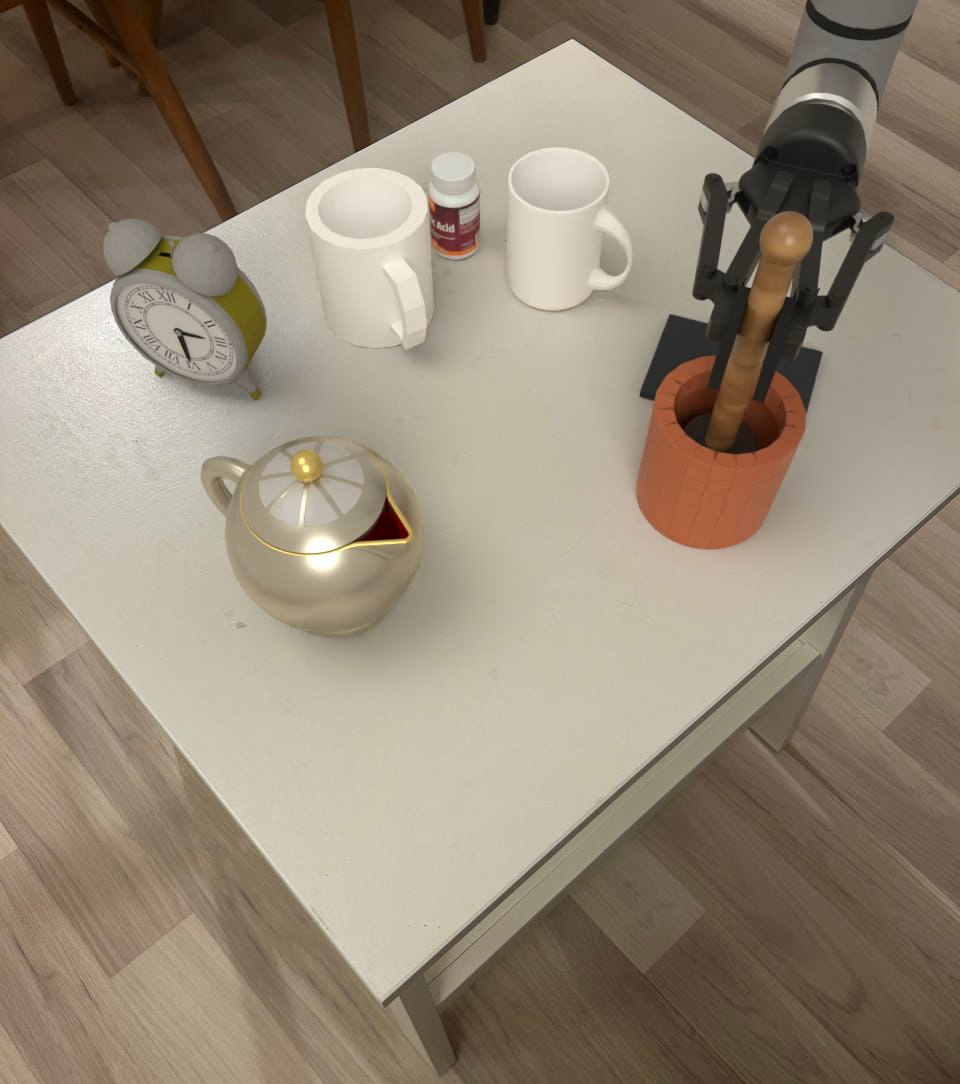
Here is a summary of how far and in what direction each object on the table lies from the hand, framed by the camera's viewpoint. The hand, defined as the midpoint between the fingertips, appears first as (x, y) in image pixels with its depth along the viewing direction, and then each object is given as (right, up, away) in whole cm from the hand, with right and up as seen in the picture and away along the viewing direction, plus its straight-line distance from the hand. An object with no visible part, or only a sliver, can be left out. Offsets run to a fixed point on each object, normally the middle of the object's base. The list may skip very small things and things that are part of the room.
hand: (740, 379), depth 57 cm
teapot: (-28, -12, +15) cm, 34 cm away
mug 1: (-25, +14, +29) cm, 41 cm away
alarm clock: (-39, +8, +26) cm, 48 cm away
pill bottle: (-18, +22, +33) cm, 44 cm away
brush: (+2, -3, +16) cm, 17 cm away
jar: (+2, -4, +19) cm, 19 cm away
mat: (+6, +7, +25) cm, 26 cm away
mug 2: (-8, +17, +30) cm, 36 cm away
